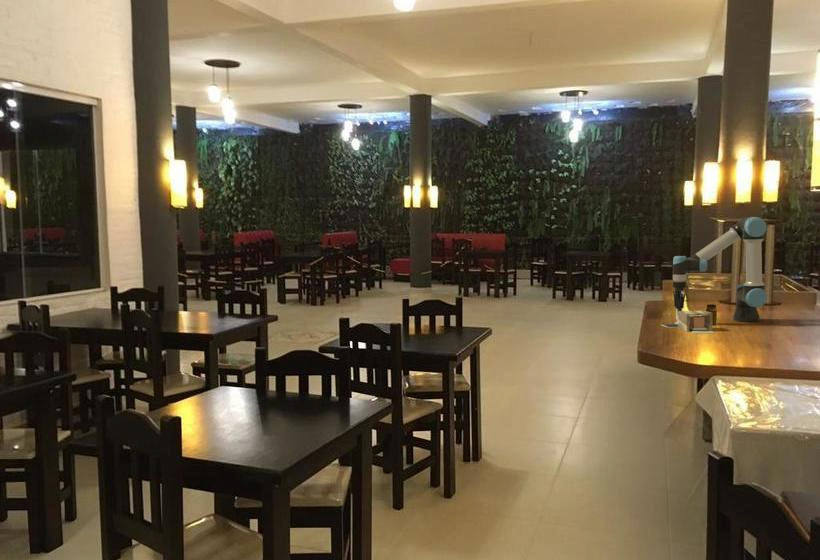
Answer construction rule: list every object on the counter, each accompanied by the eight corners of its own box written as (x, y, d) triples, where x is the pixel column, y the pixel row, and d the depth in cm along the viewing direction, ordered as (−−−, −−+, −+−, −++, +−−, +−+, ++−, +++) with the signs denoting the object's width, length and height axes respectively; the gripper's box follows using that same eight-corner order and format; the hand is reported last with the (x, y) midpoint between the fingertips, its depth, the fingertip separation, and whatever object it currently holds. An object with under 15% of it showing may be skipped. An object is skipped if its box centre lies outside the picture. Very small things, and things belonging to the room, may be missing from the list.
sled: (688, 323, 423) (688, 311, 422) (707, 329, 398) (707, 317, 398) (675, 323, 423) (675, 312, 422) (693, 330, 398) (693, 318, 397)
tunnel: (703, 327, 411) (703, 310, 410) (712, 330, 400) (712, 313, 399) (678, 328, 410) (678, 311, 409) (686, 331, 399) (686, 313, 398)
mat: (709, 331, 398) (709, 330, 398) (715, 333, 391) (715, 332, 391) (691, 331, 398) (691, 331, 398) (696, 333, 391) (696, 333, 391)
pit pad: (688, 324, 423) (688, 323, 423) (696, 326, 413) (696, 326, 413) (661, 325, 423) (661, 324, 423) (667, 327, 413) (668, 327, 413)
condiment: (719, 324, 421) (719, 304, 420) (711, 325, 417) (711, 306, 415) (708, 322, 427) (709, 303, 426) (700, 324, 423) (700, 304, 422)
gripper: (668, 280, 431) (668, 317, 433) (677, 282, 418) (677, 320, 420) (680, 280, 431) (680, 317, 433) (690, 282, 418) (689, 320, 420)
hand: (678, 319), depth 427 cm, fingers closed
